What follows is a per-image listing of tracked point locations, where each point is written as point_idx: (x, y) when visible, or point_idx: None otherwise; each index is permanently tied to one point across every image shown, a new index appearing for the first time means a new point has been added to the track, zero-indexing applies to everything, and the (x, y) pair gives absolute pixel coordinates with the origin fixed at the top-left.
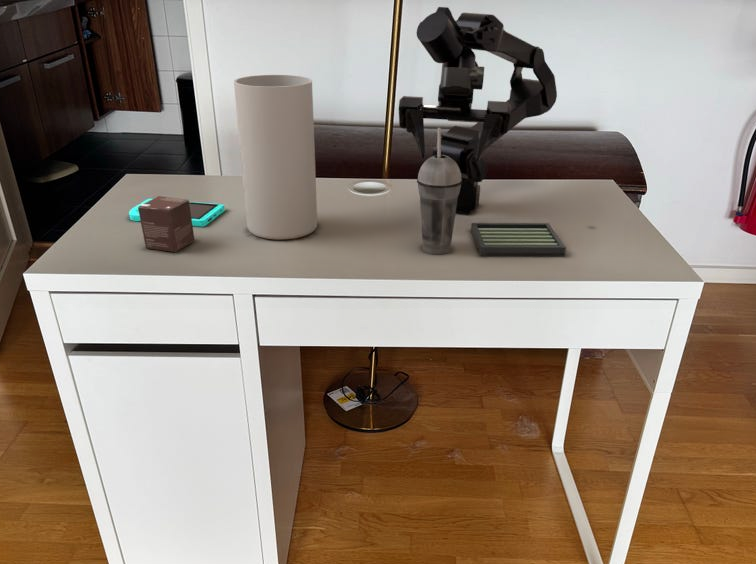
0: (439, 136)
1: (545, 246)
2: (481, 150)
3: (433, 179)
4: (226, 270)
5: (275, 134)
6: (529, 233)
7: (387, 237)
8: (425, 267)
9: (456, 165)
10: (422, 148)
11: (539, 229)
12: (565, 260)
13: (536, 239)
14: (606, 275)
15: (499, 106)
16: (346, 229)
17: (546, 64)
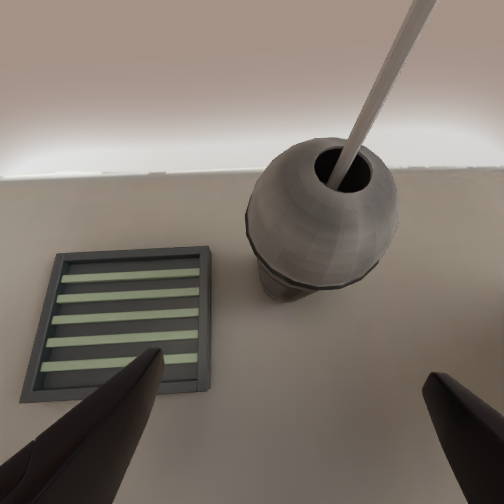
0: (399, 41)
1: (91, 254)
2: (117, 376)
3: (336, 155)
4: None
5: None
6: (92, 336)
7: (382, 335)
8: None
9: (270, 173)
10: (470, 399)
11: (60, 362)
12: (74, 243)
13: (92, 299)
14: (40, 194)
15: None
16: (481, 382)
17: None
